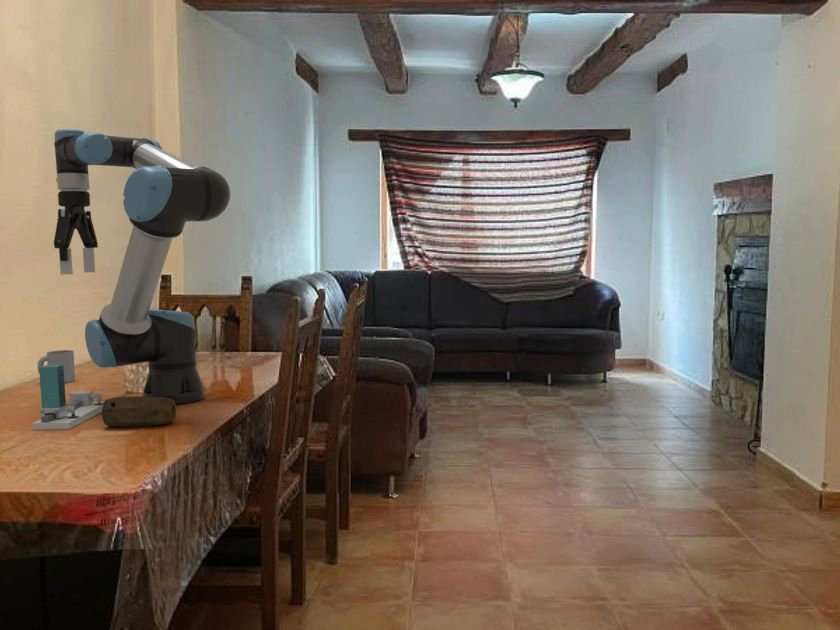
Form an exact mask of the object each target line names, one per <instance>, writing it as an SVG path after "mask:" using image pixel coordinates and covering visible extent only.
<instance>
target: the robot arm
mask: <svg viewBox="0 0 840 630" xmlns="http://www.w3.org/2000/svg"><path fill="white" fill-rule="evenodd" d="M53 145H54V146H53V147H54V149H55V150H54V153H55V154H54V155H55V167H56V178H55V181H56V183H57V189H58V190H59V191H58V193H57V202H58V206H59V207H63V208H58V209H57V223H56V226H55V228H56V229H55V232H54V233H55V234H54V240H53V245H54V246H53V247H54V248H55V249H58V254H59V269H60V270H59V271H60V275H61V276H63V275H73V274H74V273H73V259H72V257H73V256H72V248H71V247H70V245H71V243H72V242H71V241H72V240H73V239H72V238H73V236H74V233H75V229H76V230H77V232H78V235H79V237H80V240H81V243H82V245H83V247H82V258H83V259H82V261H83V272H84V273H96V261H95V259H96V258H95V248H96V249H97V248H99V247H98V244H99V243H98V239H97V235H96V230H95V228H94V224H93V220H92V214H91V213H92V212H91V210H85V208H87V207H90V206H91V195H90V192H89V190H90V177H89V174H90V173H89V166H103V167H104V166H106V167H119V168H120V167H123V168H133V169H134V170H133V171H132V172H131V174H130V175H129V177H128V178H127V180H126V182H125V184H124V189H123V194H122V196H123V197H124V199H123V200H122V202H123V204H122V205H123V209H124V211H125V213H126V215H127V216H128V220H129V222H130V224H131V226H132V230H131V234H130V237H129V241H128V244H127V248H126V251H125V255H124V257H123V261H122V263H121V268H120V271H119V275H118V278H117V281H116V284H115V287H114V288H115V289H114V291H113V295H112V298H111V301H110V304H106V305H105V306H104V307H103V308H102V309H101V311H100V314H99V318H98V319H92V320H90V321H88V322H87V323H86V324H85V330H84V338H85V339H84V340H85V346H86V349H87V352H88V354H89V357H90V359H91V360H92V362H93V363H94V365H96V366H97V367H98V368H103V369H105V368H118V367H124V366H125V367H126V366H130V365H137V364H144V363H148V373H147V378H146V380H145V384H144V387H143V391H142V396H146V397H164V398H169V399H172V400H174V401H175V404H176V405H181V404H188V403H193V402H197V401H200V400H202V399H204V398H205V396H206V395H205V387H204V385H203V383H202V380H201V377H200V375H199V374H200V373H199V372H198V369H197V359H196V358H197V357H196V356H197V355H196V333H195V331H196V327H195V320H194V319H195V318H194V316H193V315H192V313H191V312H188V311H179V310H178V311H177V310H168V309H167V310H163V309H150V308H151V306H152V303H153V300H154V296H155V293H156V289H157V287H158V284H159V280H160V277H161V275H162V272H163V269H164V266H165V263H166V259H167V255H168V253H169V250H170V247H171V244H172V241H173V239H175V238H178V237H180V236H181V235H182V233H183V229H184V227H185V224H186V223H187V222H207V221H211V220H214V219H217V218H218V217H219V216H220V215H222V214H223V213H224V212H225V211H226V209H227V208H228V206H229V203H230V200H231V190H230V185H229V183H228V181H227V180H226V178H225V177H224V176H223V175H222V174H220V173H219V172H217V171H216V170H213V169H212V168H210V167H206V166H203V165H202V166H196V165H194V164H191V163H189V162H187V161H186V160H184V159H181V158H179V157H177V156H176V155H174V154H171V153H169V152H168V151H166V150H163V147H162V145H161V144H160V142H159V141H158V140H154V139H148V138H146V137H145V138H142V137H141V138H138V137H137V138H135V137H124V136H115V135H105V134H103V133H101V132H96V131H95V132H94V131H93V132H91V131H88V132H85V131H84V130H81V129H77V128H61V129H60V128H59V129H56V131H55V133H54V142H53Z"/></svg>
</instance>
